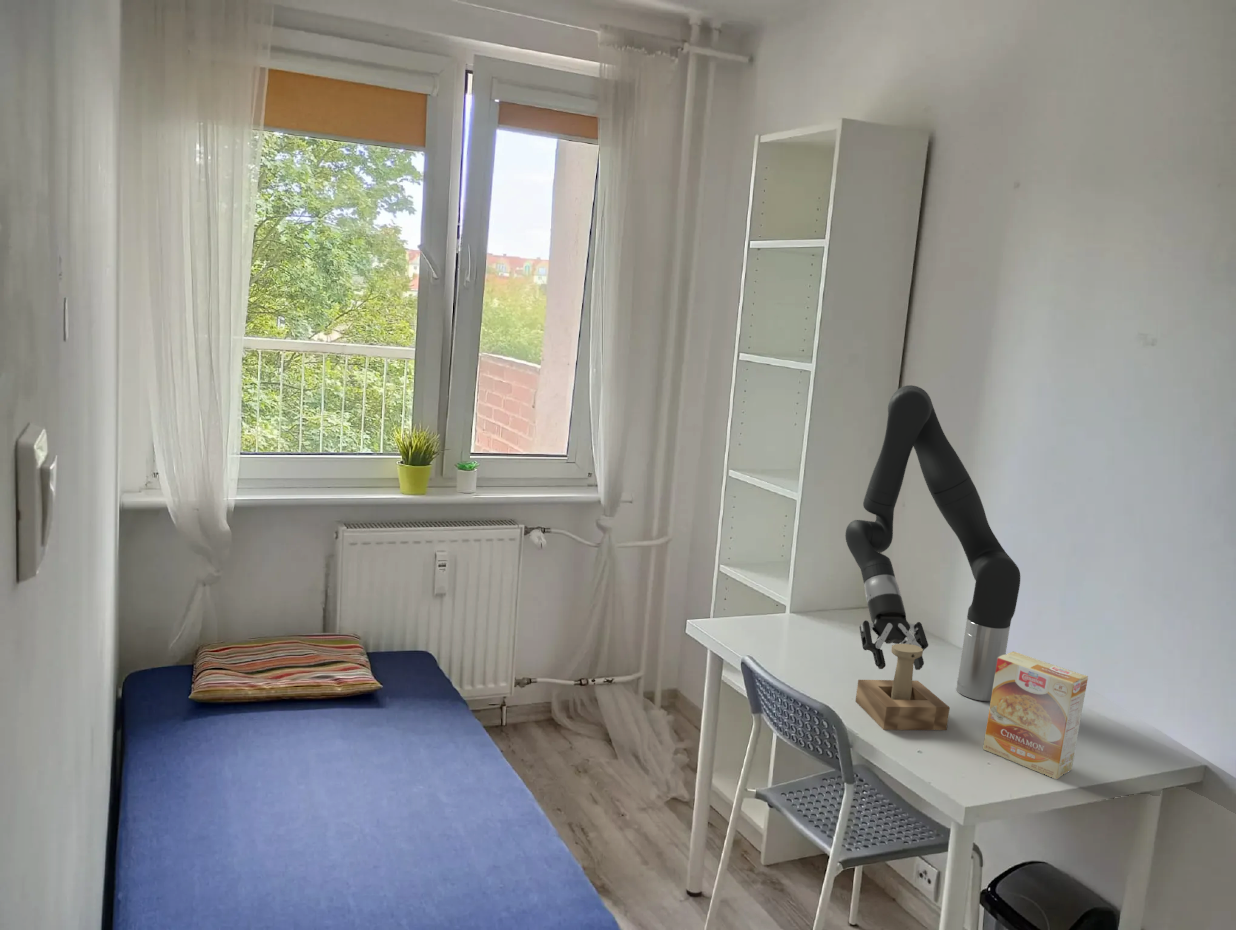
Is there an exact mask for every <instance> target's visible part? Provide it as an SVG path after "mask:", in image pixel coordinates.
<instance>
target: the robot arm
mask: <svg viewBox="0 0 1236 930" xmlns="http://www.w3.org/2000/svg"><path fill="white" fill-rule="evenodd" d="M936 413H937V412H936V410H935V408H934V404H933V402H932V399H931V397H930V395H929V393H928V392H927V391H926V390H924V389H923V388H921V387H919V386H916V385H912V384H911V385H910V384H909V385H904V386H901V387H899V388H898V389H897V390H895V392H894V393H893V394H892V396H891V397H890V400H889V402H888V407H887V421H886V430H885V435H884V439H883V443H882V447H881V450H880V454H879V456H878V459H877V461H876V463H875V467H874V468H873V471H872V474H871V477H870V479H869V483H868V486H867V488H866V492H865V496H864V499H863V504H862V506H863V508H864V509H865V510H866V512H868V513H870V514H871V515H875V517H876V518H875V521H873V520H872V521H871V520H865V519H864V520H862V519H855V520H852V521H851V522H850V523H849V524H848V525H847V526H846V529H845V535H844V536H845V542H846V545H847V548H848V550H849V552H850V553H851V555H852V557H853V558H854V560H855V562H856V564H857V566H858V568H859V569H860V572H861V573H860V574H861V576H862V580H863V586H864V594H865V595H864V596H865V600H866V603H867V607H868V611H869V615H870V621H871V622H869V620H864V621H863V622H862V623H861V624H860V625H859V634H860V639H861V645H862V649H863V651H868V652H869V651H870V652H871V653H872V655H873V659H874V660H873V661H874V664H875V666H876V667H878V670H883V669H884V668H885V667H886V661H885V660H886V659H885V656H884V652H883V649H881V648H882V646H883V644H884V643H885V644H887V645H888V644H894V645H895V644H911V645H916V646H919V647H921V648H922V649H923V652H924V651H925V650H926V649H927V648H928V647H929V643H928V639H927V637H926V633H925V630H924V627H923V624H922V623H921V622H920V621H917V622H916V623H909V622H908V621H907V614H906V610H905V606H904V601H903V598H902V594H901V590H900V587H899V584H898V582H897V580H896V575H895V571H894V568H893V564H892V560H891V559H890V557H888V556H887V555H885V554H883V552H885V551H887V550H888V549H889V548H890V546H891V544H892V542H893V536H894V534H893V533H894V516H895V515H894V512H895V507H896V504H897V501H898V498H899V495H900V492H901V489H902V486H903V483H904V478H905V473H906V469H907V466H908V461H909V458H910V456H911V452H912V450H913V449H914V451H915V453H916V457H917V459H918V464H919V466H920V470H921V474H922V475H923V478H924V482H925V484H926V486H927V489H928V490H929V493H930V495H931V497H932V499H933V500H934V503H935V504H936V506H937V508H938V510H939V512H940V514H941V515H942V517H943V518H944V520H945V521H946V523H947V524H948V526H949V527H950V528H951V530H952V531H953V533H954V534H955V536H956V537H957V539H958V540H959V543H960V544H961V547H962V548H963V551H964V554H965V556H966V559H967V562H968V564H969V567H970V569H971V574H972V576H973V578H974V581H975V583H974V591H973V597H972V602H971V604H970V606H969V607H968V610H967V615H966V622H965V628H964V629H965V631H964V636H963V642H962V649H961V655H960V661H959V669H958V677H957V681H956V688H955V689H956V691H957V692H958V693H959V694H961V695H962V696H964V697H967V698H969V699H972V700H976V701H981V702H991V696H992V690H993V684H994V678H995V672H996V666H997V660H998V657H999V656H1002V655H1006V654H1007V648H1008V642H1009V635H1010V629H1011V623H1012V619H1013V617H1014V615H1015V613H1016V607H1017V603H1018V599H1019V598H1018V597H1019V592H1020V585H1021V572H1020V569H1019V566H1018V565H1017V564H1016V562H1015V561H1014V560H1013V559H1012V558H1011V556H1010V555H1009V554H1008V553H1007V552H1006V551H1005V549H1004V548H1003V546H1002V545H1001V543H1000V542H999V540H998V539H997V536H996V535H995V534H994V532H993V530H992V528H991V527H990V524H989V522H988V518H987V516H986V512H985V508H984V506H983V503H982V499H981V497H980V494H979V492H978V490H977V488H976V487H977V486H976V485H975V484H974V482H973V480H972V477H971V476H970V474H969V472H968V471H967V469H966V467H965V465H964V464H963V462H962V460H961V458H960V456H959V455H958V453H957V452H956V450H955V449H954V447H953V446H952V445H951V443H950V441H949V440H948V438H947V436H946V435H945V432H944V429H943V428H942V426H941V423H940V421H939V418H938V416H937V414H936ZM872 631H873V632H874V633H875V634H876V635H877V637H876V638H875V641H874V643H873V639H872V634H871V633H872ZM906 639H907V640H906ZM924 664H925V661H924V658H923V655H922V656H921V657H919V658H916V659H915V660H914V665H913V667H914V669H915V670H916V671H920V670H921V669H922V668H923V666H924Z"/></svg>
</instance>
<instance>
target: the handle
mask: <svg viewBox="0 0 1236 930" xmlns="http://www.w3.org/2000/svg"><path fill="white" fill-rule="evenodd" d="M890 651H891V653H892V654H893V656H895V657H897V659H896V661H897V662H896V667H895V671H894V676H893V680H894V681H893V686H892V693H891V699H892V700H910V698H911V691H912V681H913V675H914V660H915V659H916V658H919V657H921V656H922V657H923V654H924V653H923V652H924V651H923V649H922V648H921V647H919V646H916V645H911V644H901V643H899V644H895V643H894V644H893V645H891V650H890Z"/></svg>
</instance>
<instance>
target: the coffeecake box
mask: <svg viewBox="0 0 1236 930" xmlns="http://www.w3.org/2000/svg"><path fill="white" fill-rule="evenodd" d="M1088 680H1089V676H1088V675H1086V674H1085V675H1084V674H1081V673H1079V672H1076V671H1073V670H1069V669H1067V668H1065V667H1061V666H1058V665H1055V664H1052V663H1050V662H1046V661H1043V660H1041V659H1037V658H1035V657H1031V656H1029V655H1025V654H1023V653H1020V652H1016V651H1011V652H1009V653H1006V655H1002V656H999V657H998V660H997V666H996V672H995V678H994V684H993V690H992V696H991V701H990V703H989V709H988V717H987V722H986V728H985V734H984V740H983V741H984V742H983V748H982V749H983V750H984V751H986V752H989V753H991V754H994V755H996V756H999V757H1001V758H1004V759H1005V760H1008V761H1010V762H1013V763H1015V764H1017V765H1020V766H1023V767H1025V768H1026V769H1027V768H1028V769H1030V770H1033V771H1034V772H1037V773H1040V774H1042V775H1044V774H1045V775H1044V776H1046V775H1047V776H1046V777H1048V778H1049V777H1050V778H1051V777H1052V779H1054V780H1058V779H1060V778H1061V777H1063V776H1064V775H1066V774H1068V773H1069V772H1068V771H1070V770H1071V771H1072V768H1073V765H1074V764H1073V763H1074V759H1075V758H1074V757H1075V751H1076V746H1077V741H1078V737H1079V736H1078V735H1079V731H1080V725H1081V718H1082V714H1083V707H1084V703H1085V702H1084V701H1085V696H1086V691H1087V685H1088ZM1071 771H1070V772H1071ZM1067 772H1068V773H1067ZM1065 773H1066V774H1065ZM1063 774H1064V775H1063ZM1060 776H1061V777H1060ZM1059 777H1060V778H1059Z"/></svg>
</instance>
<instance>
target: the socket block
mask: <svg viewBox="0 0 1236 930" xmlns="http://www.w3.org/2000/svg"><path fill="white" fill-rule="evenodd" d="M893 681H894V679H891V680H890V679H858V680H857V688H856V696H855V703H857V705H859V707H860V708H861V709H862V710H863V711H865V713H866V714H868V716H869V717H870V718H871V719H872V720H873V721H874V722H875V723H876V724H877V725H878V726H879V727H880V728H881V729H882V730H884V731H885V730H886V731H887V730H889V731H891V730H892V731H947V728H948V721H949V715H950V708H951V707H950V706H949V705H948V704H947V703H945V702H944V701H943V700H942V699H940V698H939V697H938V695H935V694H934V693H933V692H932V691H931V690H930V689H929V688H927V687H926V686H925V685H924V684H923V683H921V682H920V681H919V680H912V691H911V698H910V700H892V699H891V693H892V686H893Z"/></svg>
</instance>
